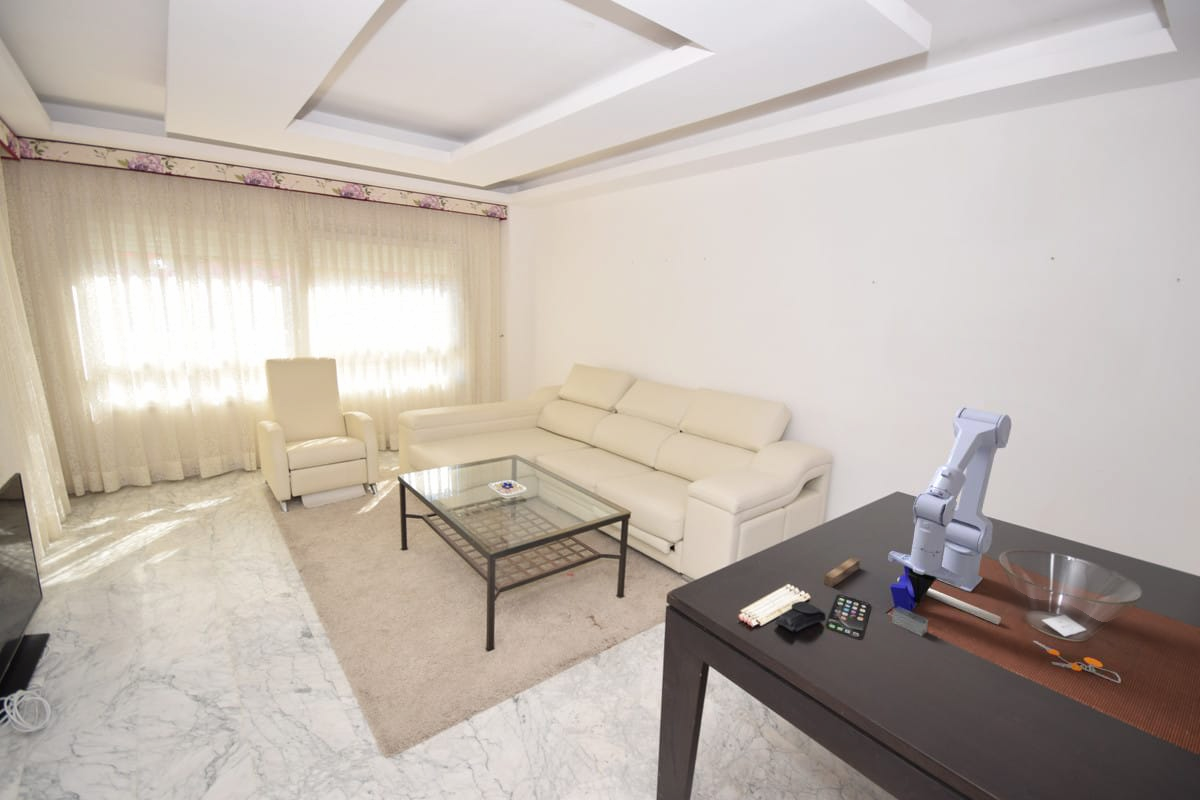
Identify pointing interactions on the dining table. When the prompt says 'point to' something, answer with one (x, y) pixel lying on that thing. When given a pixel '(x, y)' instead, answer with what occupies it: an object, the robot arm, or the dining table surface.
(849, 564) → the bar
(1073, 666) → the key chain
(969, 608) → the white rod
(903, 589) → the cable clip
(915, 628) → the grey rectangular block
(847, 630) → the smartphone
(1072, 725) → the dining table surface
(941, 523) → the robot arm
